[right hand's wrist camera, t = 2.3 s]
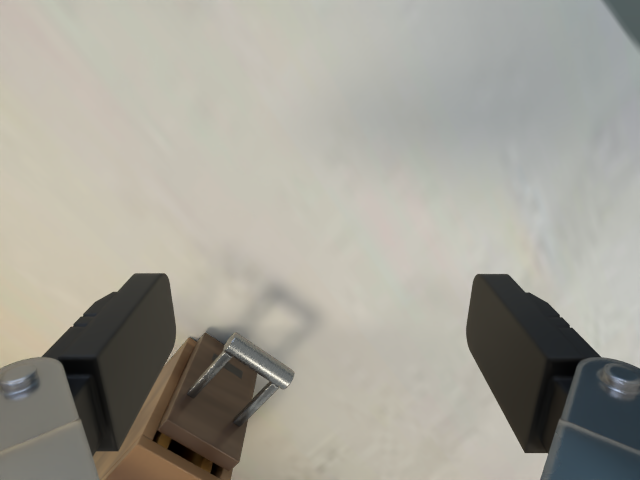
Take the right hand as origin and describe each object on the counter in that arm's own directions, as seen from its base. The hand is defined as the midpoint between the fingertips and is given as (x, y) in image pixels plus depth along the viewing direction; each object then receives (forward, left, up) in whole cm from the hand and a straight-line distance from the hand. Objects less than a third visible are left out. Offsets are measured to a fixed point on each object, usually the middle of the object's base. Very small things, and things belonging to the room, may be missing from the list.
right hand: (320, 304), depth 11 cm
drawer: (-14, -19, -20) cm, 31 cm away
